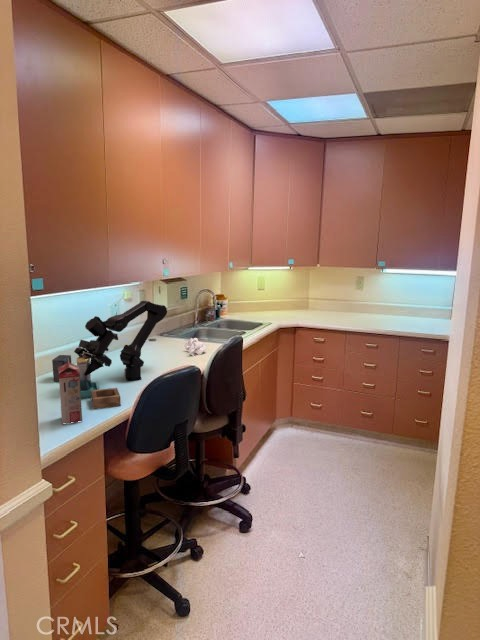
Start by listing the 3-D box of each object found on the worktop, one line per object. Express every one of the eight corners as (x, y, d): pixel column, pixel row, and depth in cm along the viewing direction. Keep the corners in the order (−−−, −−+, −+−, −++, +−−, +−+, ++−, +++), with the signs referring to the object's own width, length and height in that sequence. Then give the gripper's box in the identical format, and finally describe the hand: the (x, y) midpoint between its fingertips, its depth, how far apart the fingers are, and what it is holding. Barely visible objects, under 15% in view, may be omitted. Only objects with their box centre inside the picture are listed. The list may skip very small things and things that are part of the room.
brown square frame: (117, 396, 177) (116, 387, 176) (120, 405, 168) (120, 396, 167) (91, 400, 173) (91, 390, 172) (93, 409, 164) (93, 399, 163)
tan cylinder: (93, 386, 181) (91, 356, 179) (87, 390, 176) (86, 360, 174) (81, 385, 182) (80, 356, 179) (76, 390, 177) (74, 359, 174)
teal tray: (97, 388, 186) (97, 381, 186) (100, 396, 177) (99, 389, 176) (70, 391, 182) (69, 384, 182) (71, 400, 172) (70, 393, 172)
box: (60, 376, 200) (59, 354, 198) (72, 377, 200) (71, 355, 198) (53, 382, 192) (51, 359, 190) (65, 382, 192) (64, 359, 190)
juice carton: (80, 414, 159) (77, 357, 155) (82, 422, 153) (79, 362, 149) (61, 417, 156) (57, 359, 152) (62, 424, 150) (58, 364, 146)
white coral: (210, 349, 240) (198, 339, 236) (200, 361, 239) (187, 351, 235) (204, 345, 251) (193, 334, 247) (194, 356, 250) (182, 346, 247)
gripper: (76, 328, 183) (54, 359, 176) (104, 335, 172) (81, 368, 166) (93, 343, 191) (72, 373, 184) (121, 350, 180) (99, 382, 173)
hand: (81, 374), depth 177 cm, fingers closed on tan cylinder, 5 cm apart
